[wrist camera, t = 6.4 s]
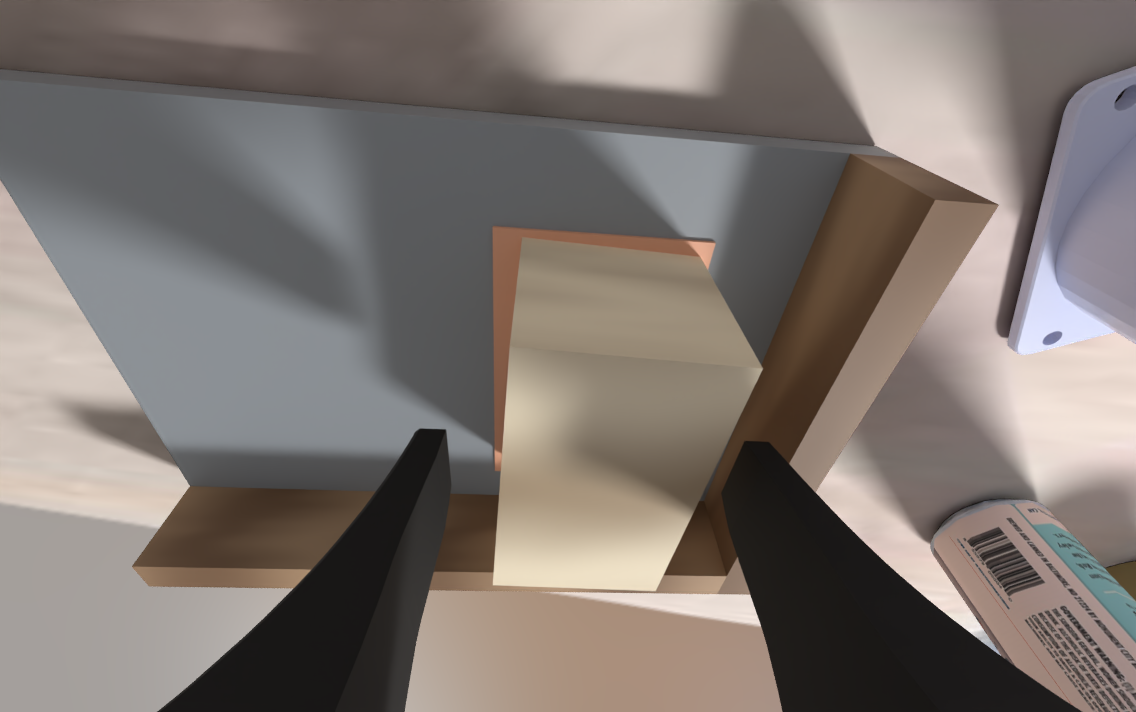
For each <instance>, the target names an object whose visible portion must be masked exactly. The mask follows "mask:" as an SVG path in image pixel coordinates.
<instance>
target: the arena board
mask: <svg viewBox="0 0 1136 712" xmlns="http://www.w3.org/2000/svg"><path fill="white" fill-rule="evenodd" d="M850 153H852V154H863V155H875V156H886V157H898V156H896V155H894V154H892V153H890V152H888V151H886V150H884V149H881V148H879V147H877V146H868V145H856V144H845V143H834V142H822V141H811V140H800V139H788V138H777V137H766V136H754V135H743V134H732V133H720V132H709V131H698V130H686V129H675V128H664V127H652V126H641V125H629V124H618V123H607V122H595V121H584V120H573V119H561V118H550V117H539V116H527V115H516V114H505V113H493V112H482V111H471V110H459V109H448V108H437V107H425V106H414V105H403V104H391V103H380V102H368V101H357V100H346V99H334V98H323V97H312V96H300V95H289V94H278V93H266V92H255V91H244V90H232V89H221V88H210V87H198V86H187V85H176V84H164V83H153V82H142V81H130V80H119V79H108V78H96V77H85V76H73V75H62V74H51V73H39V72H28V71H17V70H5V69H0V180H1V181H2V183H3V185H4V186H5V188H6V189H7V191H8V193H9V194H10V196H11V197H12V199H13V201H14V202H15V204H16V206H17V207H18V209H19V210H20V212H21V214H22V215H23V217H24V218H25V220H26V222H27V223H28V225H29V227H30V228H31V230H32V231H33V233H34V235H35V236H36V238H37V239H38V241H39V243H40V244H41V246H42V248H43V249H44V251H45V252H46V254H47V256H48V257H49V259H50V260H51V262H52V264H53V265H54V267H55V269H56V270H57V272H58V273H59V275H60V277H61V278H62V280H63V281H64V283H65V285H66V286H67V288H68V290H69V291H70V293H71V294H72V296H73V298H74V299H75V301H76V302H77V304H78V306H79V307H80V309H81V311H82V312H83V314H84V315H85V317H86V319H87V320H88V322H89V323H90V325H91V327H92V328H93V330H94V332H95V333H96V335H97V336H98V338H99V340H100V341H101V343H102V344H103V346H104V348H105V349H106V351H107V353H108V354H109V356H110V357H111V359H112V361H113V362H114V364H115V365H116V367H117V369H118V370H119V372H120V374H121V375H122V377H123V378H124V380H125V382H126V383H127V385H128V387H129V388H130V390H131V391H132V393H133V395H134V396H135V398H136V399H137V401H138V403H139V404H140V406H141V408H142V409H143V411H144V412H145V414H146V416H147V417H148V419H149V420H150V422H151V424H152V425H153V427H154V429H155V430H156V432H157V433H158V435H159V437H160V438H161V440H162V441H163V443H164V445H165V446H166V448H167V450H168V451H169V453H170V454H171V456H172V458H173V459H174V461H175V462H176V464H177V466H178V467H179V469H180V471H181V472H182V474H183V475H184V477H185V479H186V480H187V482H188V483H189V485H190V486H201V487H236V488H271V489H306V490H341V491H376V490H377V489H378V488H379V486H380V485H381V484H382V482H383V481H384V480H385V478H386V477H387V475H388V474H389V472H390V471H391V469H392V468H393V466H394V465H395V464H396V462H397V461H398V459H399V457H400V456H401V454H402V453H403V451H404V450H405V448H406V446H407V445H408V443H409V442H410V440H411V438H412V437H413V435H414V433H415V432H416V431H417V430H418V429H420V428H424V429H446V432H447V442H448V453H449V463H450V474H451V484H452V485H451V492H450V494H481V495H499V490H500V476H501V462H502V448H503V434H504V419H505V405H506V391H507V377H508V363H509V349H510V339H511V331H512V322H513V313H514V304H515V296H516V287H517V278H518V269H519V260H520V252H521V243H522V237H526V238H535V239H544V240H553V241H562V242H571V243H580V244H589V245H598V246H607V247H616V248H625V249H634V250H643V251H652V252H661V253H670V254H680V255H689V256H698V257H701V259H702V261H703V262H704V264H705V266H706V268H707V270H708V271H709V273H710V275H711V277H712V279H713V280H714V282H715V284H716V286H717V287H718V289H719V291H720V293H721V295H722V296H723V298H724V300H725V302H726V303H727V305H728V307H729V309H730V311H731V312H732V314H733V316H734V318H735V320H736V321H737V323H738V325H739V327H740V328H741V330H742V332H743V334H744V336H745V337H746V339H747V341H748V343H749V344H750V346H751V348H752V350H753V352H754V353H755V355H756V357H757V359H758V361H759V362H760V364H761V365H762V362H763V360H764V357H765V355H766V353H767V350H768V348H769V346H770V343H771V341H772V338H773V336H774V334H775V331H776V329H777V327H778V324H779V322H780V319H781V317H782V315H783V312H784V310H785V308H786V305H787V303H788V300H789V298H790V296H791V293H792V291H793V289H794V286H795V284H796V281H797V279H798V277H799V274H800V272H801V270H802V267H803V265H804V262H805V260H806V258H807V255H808V253H809V251H810V248H811V246H812V243H813V241H814V239H815V236H816V234H817V232H818V229H819V227H820V224H821V222H822V220H823V217H824V215H825V213H826V210H827V208H828V205H829V203H830V201H831V198H832V196H833V193H834V191H835V189H836V186H837V184H838V182H839V179H840V177H841V174H842V172H843V170H844V167H845V165H846V163H847V160H848V158H849V155H850ZM898 158H900V157H898ZM737 422H738V421H737ZM734 429H735V428H734ZM733 431H734V430H733ZM732 433H733V432H732ZM731 436H732V434H731ZM731 436H730V438H731ZM730 438H729V440H728V442H727V444H726V446H725V448H724V451H723V453H722V455H721V457H720V459H719V461H718V463H717V465H716V467H715V469H714V471H713V473H712V475H711V477H710V480H709V482H708V484H707V486H706V488H705V490H704V492H703V494H702V496H701V498H700V500H699V501H704V500H705V498H706V495H707V493H708V490H709V488H710V486H711V483H712V481H713V479H714V476H715V474H716V471H717V469H718V467H719V464H720V462H721V460H722V457H723V455H724V452H725V450H726V448H727V445H728V443H729V441H730Z"/></svg>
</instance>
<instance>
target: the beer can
mask: <svg viewBox="0 0 1136 712" xmlns="http://www.w3.org/2000/svg"><path fill="white" fill-rule="evenodd" d="M930 545H931V551H932V554H933V555H934V557H935V558H936V560H937V561H938V563H939V564H940V566H941V567H942V569H943V570H944V571H945V573H946V574H947V576H948V577H949V579H950V580H951V582H952V583H953V585H954V586H955V588H956V589H957V591H958V592H959V594H960V595H961V597H962V598H963V600H964V601H965V603H966V604H967V605H968V607H969V608H970V610H971V611H972V613H973V614H974V616H975V617H976V619H977V620H978V622H979V623H980V625H981V626H982V628H983V629H984V631H985V632H986V634H987V635H988V637H989V638H990V639H991V641H992V642H993V644H994V645H995V647H996V648H997V650H998V651H999V653H1000V654H1001V656H1002V657H1003V658H1004V659H1006V660H1007V661H1008V662H1010V663H1011V664H1013V665H1014V666H1016V667H1017V668H1018V669H1020V670H1021V671H1023V672H1024V673H1026V674H1027V675H1028V676H1030V677H1031V678H1033V679H1034V680H1036V681H1037V682H1039V683H1040V684H1041V685H1043V686H1044V687H1046V688H1047V689H1049V690H1050V691H1052V692H1053V693H1054V694H1056V695H1057V696H1059V697H1060V698H1062V699H1063V700H1065V701H1067V702H1068V703H1070V704H1071V705H1073V706H1074V707H1076V708H1078V709H1079V710H1081V711H1082V712H1136V601H1135V600H1134V599H1133V598H1132V597H1131V596H1130V595H1129V594H1128V592H1127V591H1126V590H1125V589H1124V588H1123V587H1122V586H1121V585H1120V584H1119V583H1118V582H1117V581H1116V580H1115V579H1114V578H1113V577H1112V576H1111V575H1110V574H1109V573H1108V572H1107V571H1106V569H1105V568H1104V567H1103V566H1102V565H1101V564H1100V563H1099V562H1098V561H1097V560H1096V559H1095V558H1094V557H1093V556H1092V555H1091V554H1090V553H1089V552H1088V551H1087V550H1086V549H1085V547H1084V546H1083V545H1082V544H1081V543H1080V542H1079V541H1078V540H1077V539H1076V538H1075V537H1074V536H1073V535H1072V534H1071V533H1070V532H1069V531H1068V530H1067V529H1066V528H1065V527H1064V526H1063V524H1062V523H1061V522H1060V521H1059V520H1058V519H1057V518H1056V517H1055V516H1054V515H1053V514H1052V513H1051V512H1050V511H1049V509H1048V508H1046V507H1045V506H1043V505H1042V504H1040V503H1037V502H1034V501H1030V500H1010V499H996V500H989V501H984V502H980V503H977V504H974V505H971V506H969V507H966V508H964V509H962V510H960V511H958V512H956V513H955V514H953V515H952V516H950V517H949V518H948V519H946V520H945V521H944V522H943V523H942V525H941V526H940V528H939V530H938V531H937V532H936V533H935V534H934V536H933V539H932V541H931V544H930Z"/></svg>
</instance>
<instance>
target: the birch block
mask: <svg viewBox="0 0 1136 712" xmlns="http://www.w3.org/2000/svg"><path fill="white" fill-rule="evenodd" d="M762 370H763V368H762V366H761V364H760V362H759V361H758V359H757V357H756V355H755V353H754V352H753V350H752V348H751V346H750V344H749V343H748V341H747V339H746V337H745V336H744V334H743V332H742V330H741V328H740V327H739V325H738V323H737V321H736V320H735V318H734V316H733V314H732V312H731V311H730V309H729V307H728V305H727V303H726V302H725V300H724V298H723V296H722V295H721V293H720V291H719V289H718V287H717V286H716V284H715V282H714V280H713V279H712V277H711V275H710V273H709V271H708V270H707V268H706V266H705V264H704V262H703V261H702V259H701V257H698V256H689V255H680V254H670V253H661V252H652V251H643V250H634V249H625V248H616V247H607V246H598V245H589V244H580V243H571V242H562V241H553V240H544V239H535V238H526V237H522V243H521V252H520V260H519V269H518V278H517V287H516V296H515V304H514V313H513V322H512V331H511V339H510V349H509V363H508V377H507V391H506V405H505V419H504V434H503V448H502V462H501V476H500V490H499V504H498V518H497V532H496V546H495V560H494V574H493V585H500V586H527V587H554V588H581V589H609V590H636V591H656V589H657V587H658V585H659V583H660V581H661V579H662V577H663V575H664V573H665V571H666V569H667V567H668V564H669V562H670V560H671V558H672V556H673V554H674V552H675V550H676V548H677V546H678V544H679V542H680V540H681V538H682V535H683V533H684V531H685V529H686V527H687V525H688V523H689V521H690V519H691V517H692V515H693V513H694V511H695V509H696V506H697V504H698V502H699V500H700V498H701V496H702V494H703V492H704V490H705V488H706V486H707V484H708V482H709V480H710V477H711V475H712V473H713V471H714V469H715V467H716V465H717V463H718V461H719V459H720V457H721V455H722V453H723V451H724V448H725V446H726V444H727V442H728V440H729V438H730V436H731V434H732V432H733V430H734V428H735V426H736V424H737V421H738V419H739V417H740V415H741V413H742V411H743V409H744V407H745V405H746V403H747V401H748V399H749V397H750V395H751V392H752V390H753V388H754V386H755V384H756V382H757V380H758V378H759V376H760V374H761V372H762Z"/></svg>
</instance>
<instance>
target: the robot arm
mask: <svg viewBox="0 0 1136 712" xmlns="http://www.w3.org/2000/svg"><path fill="white" fill-rule="evenodd" d="M1124 89H1126V90H1125V92H1124V94H1123V95H1122V97H1121V98H1120V99H1119V100H1118V101H1117V102H1116V103H1115V101H1116V99H1117V97H1118V95H1119V94H1120V93H1121V92H1122V91H1123V90H1124ZM1114 332H1117V333H1118V334H1120V335H1122V336H1123V337H1125V338H1127V339H1128V340H1130V341H1132V342H1133V343H1135V344H1136V66H1134V67H1131V68H1129V69H1126V70H1123V71H1120V72H1117V73H1114V74H1111V75H1108V76H1105V77H1103V78H1100V79H1097V80H1094V81H1092V82H1090V83H1088V84H1086V85H1085V86H1083V87H1082V88H1081V89H1080V90H1079V91H1077V92H1076V93H1075V94H1074V96H1073V97H1072V98H1071V99H1070V101H1069V102H1068V104H1067V106H1066V109H1065V111H1064V114H1063V118H1062V122H1061V126H1060V131H1059V135H1058V139H1057V143H1056V147H1055V151H1054V155H1053V159H1052V163H1051V167H1050V171H1049V175H1048V179H1047V183H1046V187H1045V191H1044V195H1043V199H1042V203H1041V207H1040V212H1039V216H1038V220H1037V224H1036V228H1035V232H1034V236H1033V240H1032V244H1031V248H1030V252H1029V256H1028V260H1027V264H1026V268H1025V272H1024V276H1023V280H1022V284H1021V288H1020V293H1019V297H1018V301H1017V305H1016V309H1015V313H1014V317H1013V321H1012V325H1011V329H1010V333H1009V337H1008V341H1007V342H1008V346H1009V347H1010V348H1011V349H1012V350H1013V351H1015V352H1016V353H1017V354H1020V355H1027V354H1033V353H1036V352H1040V351H1044V350H1048V349H1052V348H1056V347H1060V346H1063V345H1067V344H1071V343H1075V342H1079V341H1083V340H1087V339H1090V338H1094V337H1098V336H1102V335H1106V334H1110V333H1114ZM451 485H452V484H451V474H450V463H449V453H448V442H447V432H446V429H424V428H420V429H418V430H417V431H416V432H415V433H414V435H413V437H412V438H411V440H410V442H409V443H408V445H407V446H406V448H405V450H404V451H403V453H402V454H401V456H400V457H399V459H398V461H397V462H396V464H395V465H394V466H393V468H392V469H391V471H390V472H389V474H388V475H387V477H386V478H385V480H384V481H383V482H382V484H381V485H380V486H379V488H378V489H377V490H376V492H375V493H374V494H373V496H372V497H371V499H370V500H369V501H368V503H367V504H366V505H365V507H364V508H363V509H362V511H361V512H360V513H359V514H358V516H357V517H356V518H355V519H354V520H353V522H352V523H351V524H350V525H349V527H348V528H347V529H346V530H345V531H344V533H343V534H342V535H341V536H340V538H339V539H338V540H337V541H336V542H335V544H334V545H333V546H332V547H331V548H330V549H329V551H328V552H327V553H326V554H325V555H324V556H323V557H322V559H321V560H320V561H319V562H318V563H317V564H316V565H315V566H314V567H313V568H312V570H311V571H310V572H309V573H308V574H307V575H306V576H305V577H304V578H303V579H302V580H301V581H300V582H299V583H298V584H297V586H296V587H295V588H294V589H293V590H292V591H291V592H290V593H289V594H288V595H287V596H286V597H285V598H284V599H283V600H282V601H281V602H280V603H279V604H278V605H277V606H276V607H275V608H274V609H273V610H272V611H271V612H270V613H269V614H268V615H267V616H266V617H265V618H264V619H263V620H261V622H259V623H258V624H257V625H256V626H255V627H254V628H253V629H252V630H251V631H250V632H249V633H248V634H247V635H246V636H245V637H243V638H242V639H241V640H240V641H239V642H238V643H237V644H236V645H235V646H233V647H232V648H231V649H230V650H229V651H228V652H227V653H225V655H223V656H222V657H221V658H220V659H219V660H218V661H217V662H215V663H214V664H213V665H212V666H211V667H210V668H209V669H207V670H206V671H205V672H204V673H203V674H202V675H201V676H200V677H198V678H197V679H196V680H195V681H194V682H193V683H192V684H190V685H189V686H188V687H187V688H186V689H185V690H183V691H182V692H181V693H180V694H179V695H178V696H176V697H175V698H174V699H173V700H171V701H170V702H169V703H168V704H166V705H165V706H164V707H163V708H161V709H160V710H159V711H158V712H404V711H405V705H406V699H407V693H408V687H409V681H410V675H411V669H412V663H413V657H414V651H415V646H416V641H417V636H418V631H419V627H420V623H421V618H422V615H423V611H424V607H425V603H426V599H427V596H428V592H429V588H430V584H431V580H432V577H433V573H434V569H435V565H436V561H437V557H438V554H439V550H440V546H441V542H442V538H443V534H444V530H445V526H446V519H447V513H448V506H449V499H450V492H451ZM721 495H722V500H723V505H724V510H725V515H726V520H727V524H728V529H729V533H730V536H731V539H732V542H733V545H734V548H735V551H736V554H737V557H738V560H739V563H740V566H741V569H742V572H743V575H744V578H745V581H746V583H747V586H748V589H749V592H750V595H751V598H752V601H753V604H754V607H755V609H756V612H757V615H758V618H759V621H760V624H761V627H762V630H763V634H764V637H765V640H766V644H767V647H768V651H769V655H770V660H771V664H772V668H773V672H774V676H775V680H776V684H777V688H778V692H779V697H780V702H781V706H782V711H783V712H1082V711H1081V710H1079V709H1078V708H1076V707H1074V706H1073V705H1071V704H1070V703H1068V702H1067V701H1065V700H1063V699H1062V698H1060V697H1059V696H1057V695H1056V694H1054V693H1053V692H1052V691H1050V690H1049V689H1047V688H1046V687H1044V686H1043V685H1041V684H1040V683H1039V682H1037V681H1036V680H1034V679H1033V678H1031V677H1030V676H1028V675H1027V674H1026V673H1024V672H1023V671H1021V670H1020V669H1018V668H1017V667H1016V666H1014V665H1013V664H1011V663H1010V662H1008V661H1007V660H1006V659H1004V658H1003V657H1002V656H1000V655H999V654H997V653H996V652H995V651H993V650H992V649H991V648H989V647H988V646H987V645H985V644H984V643H983V642H981V641H980V640H979V639H977V638H976V637H975V636H973V635H972V634H971V633H970V632H968V631H967V630H966V629H964V628H963V627H962V626H960V625H959V624H958V623H957V622H955V621H954V620H953V619H951V618H950V617H949V616H948V615H946V614H945V613H944V612H943V611H941V610H940V609H939V608H938V607H936V606H935V605H934V604H933V603H931V602H930V601H929V600H928V599H927V598H925V597H924V596H923V595H922V594H921V593H920V592H918V591H917V590H916V589H915V588H914V587H913V586H912V585H910V584H909V583H908V582H907V581H906V580H905V579H903V578H902V577H901V576H900V575H899V574H898V573H896V572H895V571H894V570H893V569H892V568H891V567H890V566H889V565H888V564H886V563H885V562H884V561H883V560H882V559H881V558H880V557H879V556H878V555H877V554H876V553H875V552H874V551H873V550H872V549H871V548H870V547H869V546H867V545H866V544H865V543H864V542H863V541H862V540H861V539H860V538H859V537H858V536H857V535H856V534H855V533H854V532H853V531H852V530H851V529H850V528H849V527H848V526H847V525H846V524H845V523H844V522H843V521H842V520H841V519H840V518H839V517H838V516H837V515H836V514H835V513H834V512H833V511H832V510H831V508H830V507H829V506H828V505H827V504H826V503H825V502H824V501H823V500H822V499H821V498H820V497H819V496H818V495H817V494H816V493H815V492H814V490H813V489H812V488H811V487H810V486H809V485H808V484H807V483H806V482H805V481H804V480H803V478H802V477H801V476H800V475H799V474H798V473H797V472H796V471H795V470H794V469H793V468H792V466H791V465H790V464H789V463H788V462H787V461H786V460H785V459H784V458H783V457H782V455H781V454H780V453H779V452H778V451H777V450H776V449H775V448H774V447H773V446H772V445H771V444H770V443H769V442H762V441H744V443H743V445H742V448H741V450H740V452H739V454H738V456H737V459H736V461H735V463H734V465H733V468H732V470H731V472H730V474H729V477H728V479H727V481H726V483H725V485H724V488H723V490H722V492H721Z"/></svg>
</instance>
